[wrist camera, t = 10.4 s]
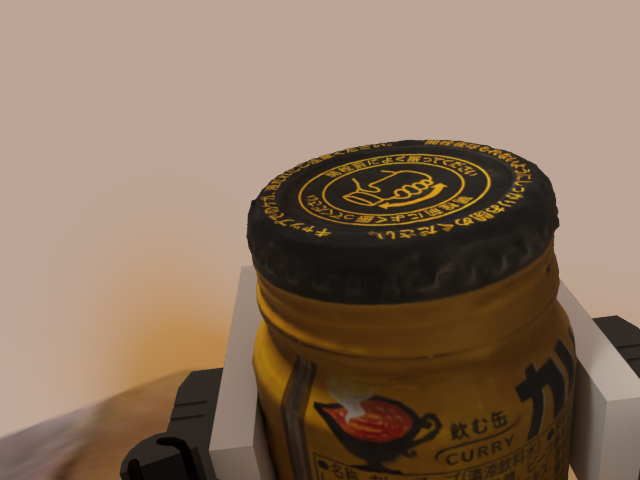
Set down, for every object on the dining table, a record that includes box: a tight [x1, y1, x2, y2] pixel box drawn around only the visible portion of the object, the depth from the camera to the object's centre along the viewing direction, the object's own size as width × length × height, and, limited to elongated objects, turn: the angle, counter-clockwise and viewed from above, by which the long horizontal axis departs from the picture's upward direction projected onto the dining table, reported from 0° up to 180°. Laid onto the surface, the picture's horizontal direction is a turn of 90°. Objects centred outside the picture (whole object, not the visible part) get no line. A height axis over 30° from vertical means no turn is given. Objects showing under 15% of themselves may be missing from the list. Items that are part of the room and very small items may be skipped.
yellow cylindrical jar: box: [247, 140, 577, 480], centre depth 12 cm, size 7×8×12 cm
